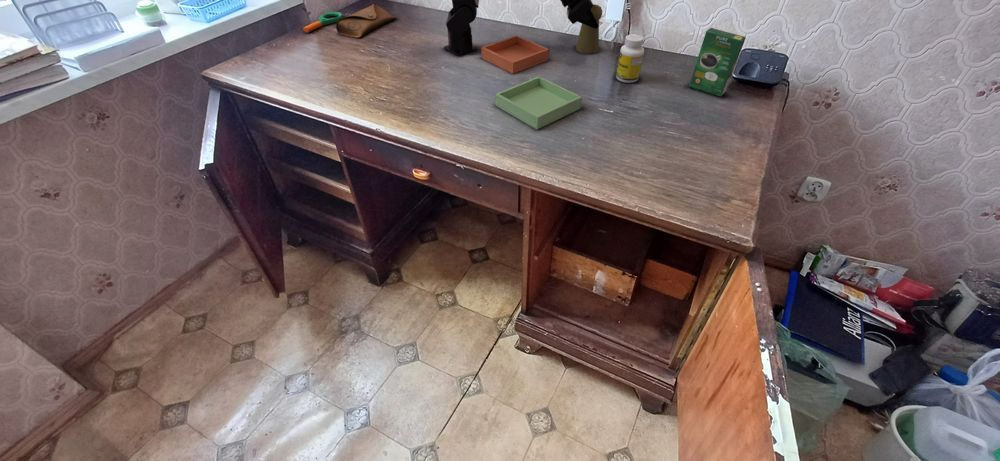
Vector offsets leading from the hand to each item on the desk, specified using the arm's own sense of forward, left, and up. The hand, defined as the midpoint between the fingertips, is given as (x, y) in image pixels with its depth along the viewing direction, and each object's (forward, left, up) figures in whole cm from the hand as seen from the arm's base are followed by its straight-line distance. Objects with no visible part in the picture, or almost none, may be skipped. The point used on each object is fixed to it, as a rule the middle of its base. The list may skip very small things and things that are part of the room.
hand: (595, 23), depth 121 cm
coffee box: (+33, +2, -7) cm, 34 cm away
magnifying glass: (-64, -47, -7) cm, 80 cm away
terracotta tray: (-9, -20, -7) cm, 23 cm away
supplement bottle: (+17, -7, -7) cm, 20 cm away
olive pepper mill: (-1, -1, -7) cm, 7 cm away
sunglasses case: (-54, -37, -7) cm, 66 cm away
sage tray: (+13, -33, -7) cm, 36 cm away
